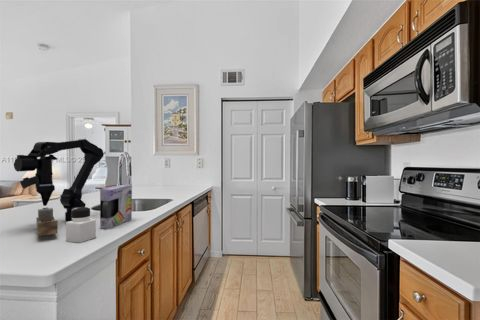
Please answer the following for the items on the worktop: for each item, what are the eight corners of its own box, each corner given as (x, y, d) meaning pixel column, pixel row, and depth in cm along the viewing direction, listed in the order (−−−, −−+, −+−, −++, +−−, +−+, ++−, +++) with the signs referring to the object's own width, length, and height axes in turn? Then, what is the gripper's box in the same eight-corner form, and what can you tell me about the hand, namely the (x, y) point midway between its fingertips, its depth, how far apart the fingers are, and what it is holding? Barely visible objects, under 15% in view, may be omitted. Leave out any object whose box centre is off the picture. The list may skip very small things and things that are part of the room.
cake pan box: (108, 230, 117) (107, 188, 117) (97, 229, 118) (97, 188, 118) (132, 219, 136) (132, 184, 136) (123, 219, 137) (123, 184, 137)
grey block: (52, 219, 119) (52, 206, 119) (53, 221, 116) (52, 208, 115) (38, 221, 116) (37, 208, 116) (38, 223, 112) (38, 209, 112)
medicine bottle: (96, 237, 106) (96, 206, 106) (80, 243, 99) (79, 210, 99) (82, 236, 108) (82, 205, 108) (65, 241, 101) (65, 209, 101)
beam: (53, 227, 122) (53, 211, 122) (57, 239, 104) (57, 220, 104) (36, 229, 118) (36, 213, 118) (38, 242, 100) (37, 223, 100)
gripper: (21, 170, 123) (21, 204, 123) (20, 172, 108) (21, 211, 108) (51, 169, 130) (51, 202, 130) (54, 170, 115) (55, 207, 115)
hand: (44, 205), depth 121 cm, fingers closed
